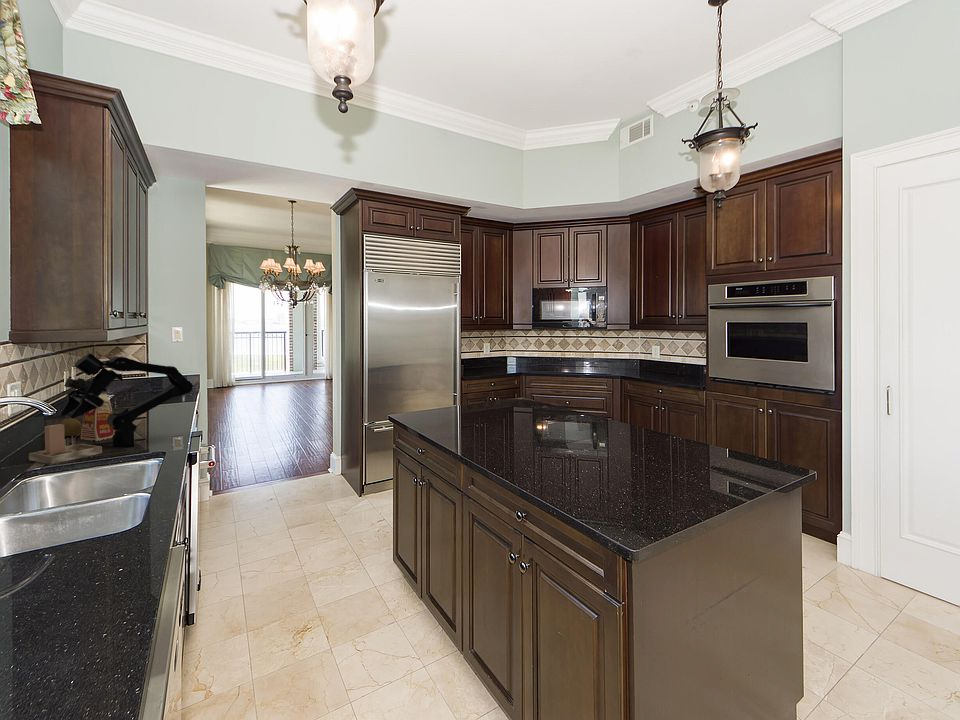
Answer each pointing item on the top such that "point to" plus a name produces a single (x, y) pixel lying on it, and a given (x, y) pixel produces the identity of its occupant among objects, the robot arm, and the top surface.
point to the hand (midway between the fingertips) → (66, 416)
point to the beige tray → (66, 454)
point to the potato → (71, 427)
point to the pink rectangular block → (54, 439)
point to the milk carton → (97, 422)
